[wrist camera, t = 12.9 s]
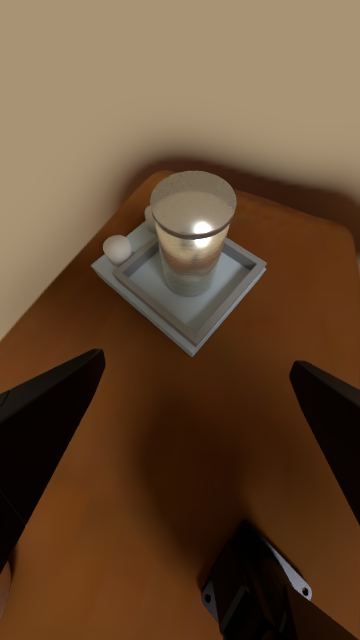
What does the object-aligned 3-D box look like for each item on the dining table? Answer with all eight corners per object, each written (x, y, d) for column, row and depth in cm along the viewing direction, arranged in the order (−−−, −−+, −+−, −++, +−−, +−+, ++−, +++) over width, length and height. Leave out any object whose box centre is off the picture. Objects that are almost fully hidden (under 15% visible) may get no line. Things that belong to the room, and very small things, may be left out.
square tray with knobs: (258, 279, 25) (273, 258, 21) (192, 357, 22) (194, 350, 18) (167, 219, 29) (164, 190, 25) (99, 276, 26) (82, 254, 22)
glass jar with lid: (215, 299, 21) (238, 234, 12) (161, 296, 21) (145, 231, 12) (214, 240, 24) (233, 152, 15) (167, 238, 24) (157, 151, 15)
